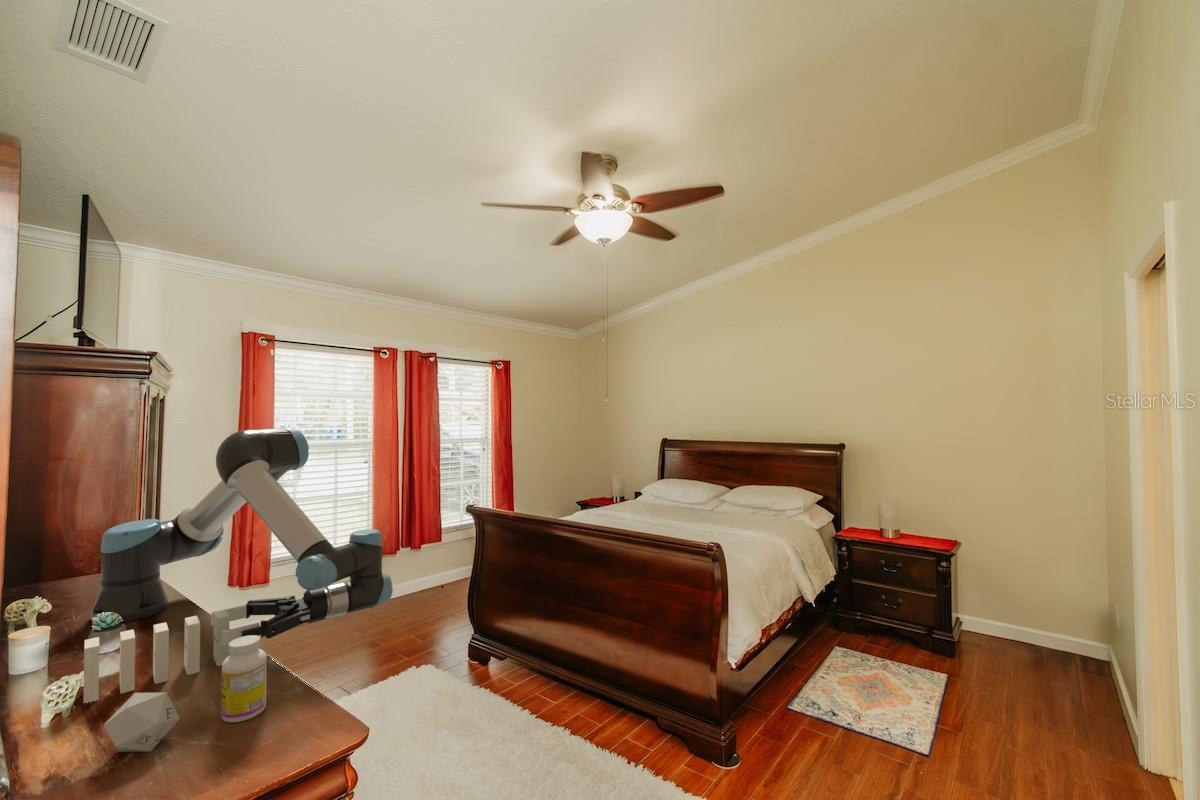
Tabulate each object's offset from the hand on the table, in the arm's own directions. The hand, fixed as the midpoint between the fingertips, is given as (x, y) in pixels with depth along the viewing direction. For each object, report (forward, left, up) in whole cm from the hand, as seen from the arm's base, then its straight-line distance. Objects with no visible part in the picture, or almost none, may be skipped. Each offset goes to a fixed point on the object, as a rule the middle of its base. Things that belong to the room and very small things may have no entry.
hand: (215, 628), depth 112 cm
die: (+28, -3, -7) cm, 30 cm away
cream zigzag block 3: (+3, -8, -7) cm, 12 cm away
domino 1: (+6, -18, -7) cm, 20 cm away
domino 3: (+1, -4, -7) cm, 8 cm away
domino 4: (0, +1, -7) cm, 7 cm away
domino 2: (+5, -13, -7) cm, 16 cm away
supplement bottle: (+24, +10, -7) cm, 27 cm away
